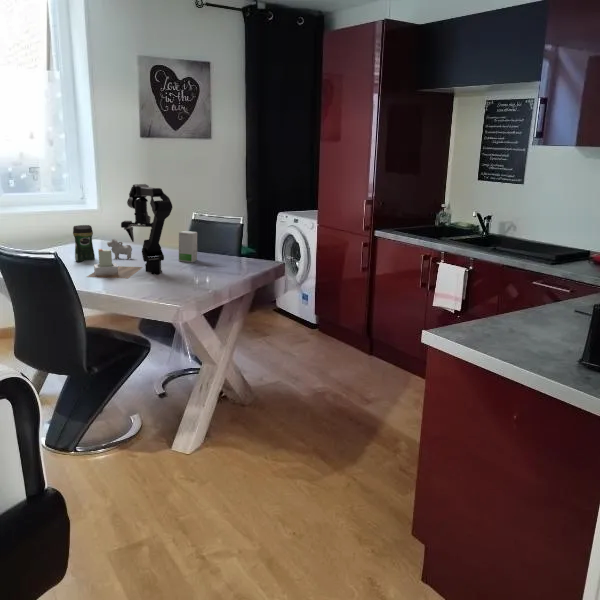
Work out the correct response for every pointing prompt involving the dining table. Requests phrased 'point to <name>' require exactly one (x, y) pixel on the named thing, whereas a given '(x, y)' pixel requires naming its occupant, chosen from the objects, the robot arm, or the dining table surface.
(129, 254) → the dog figurine
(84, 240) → the coffee jar
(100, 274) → the keyed slot
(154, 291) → the dining table surface
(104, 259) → the keyed peg
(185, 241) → the skincare box
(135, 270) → the walnut board
